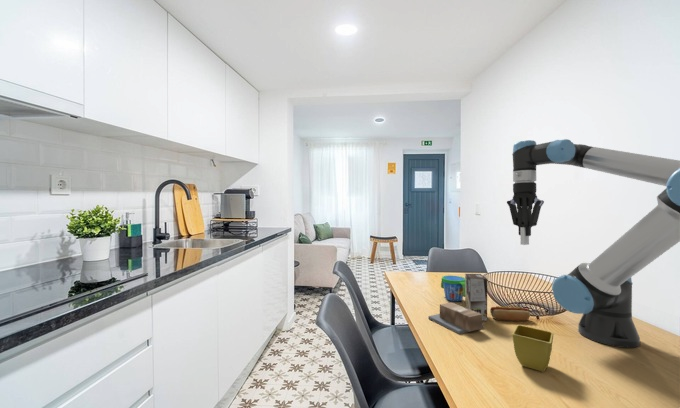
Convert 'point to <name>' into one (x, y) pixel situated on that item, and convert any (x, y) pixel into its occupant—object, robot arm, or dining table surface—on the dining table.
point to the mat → (447, 324)
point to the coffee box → (476, 294)
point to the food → (510, 313)
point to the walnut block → (461, 316)
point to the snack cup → (453, 287)
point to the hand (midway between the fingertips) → (524, 244)
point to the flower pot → (532, 347)
